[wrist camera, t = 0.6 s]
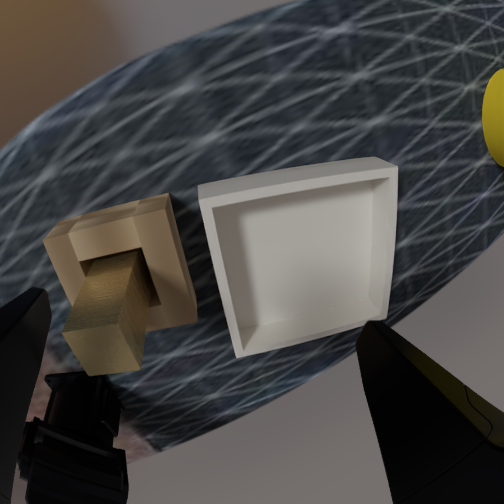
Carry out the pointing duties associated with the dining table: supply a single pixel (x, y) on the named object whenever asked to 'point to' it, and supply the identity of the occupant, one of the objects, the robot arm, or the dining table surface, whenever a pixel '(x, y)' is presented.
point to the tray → (302, 250)
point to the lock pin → (111, 314)
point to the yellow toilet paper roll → (494, 116)
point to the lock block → (125, 238)
